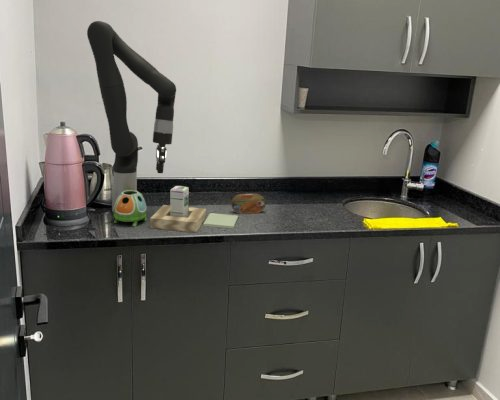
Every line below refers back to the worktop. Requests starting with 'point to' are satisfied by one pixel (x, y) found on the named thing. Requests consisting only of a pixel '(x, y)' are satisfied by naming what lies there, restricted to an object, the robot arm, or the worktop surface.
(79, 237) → the worktop surface
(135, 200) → the turtle holder
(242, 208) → the tin
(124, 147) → the robot arm
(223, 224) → the mat
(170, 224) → the socket block
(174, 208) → the syrup box
